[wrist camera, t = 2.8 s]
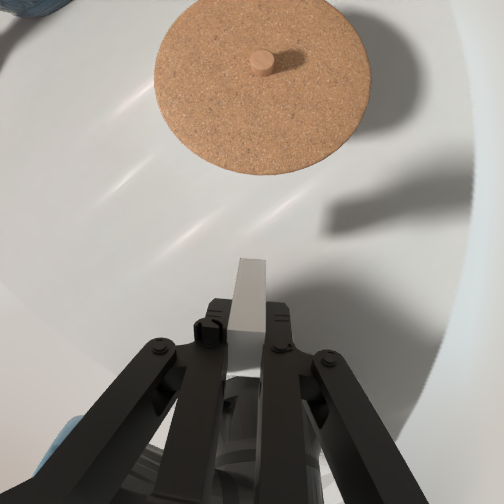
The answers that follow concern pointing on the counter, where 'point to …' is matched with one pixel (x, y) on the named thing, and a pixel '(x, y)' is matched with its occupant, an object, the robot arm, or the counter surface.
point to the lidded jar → (262, 83)
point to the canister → (31, 7)
